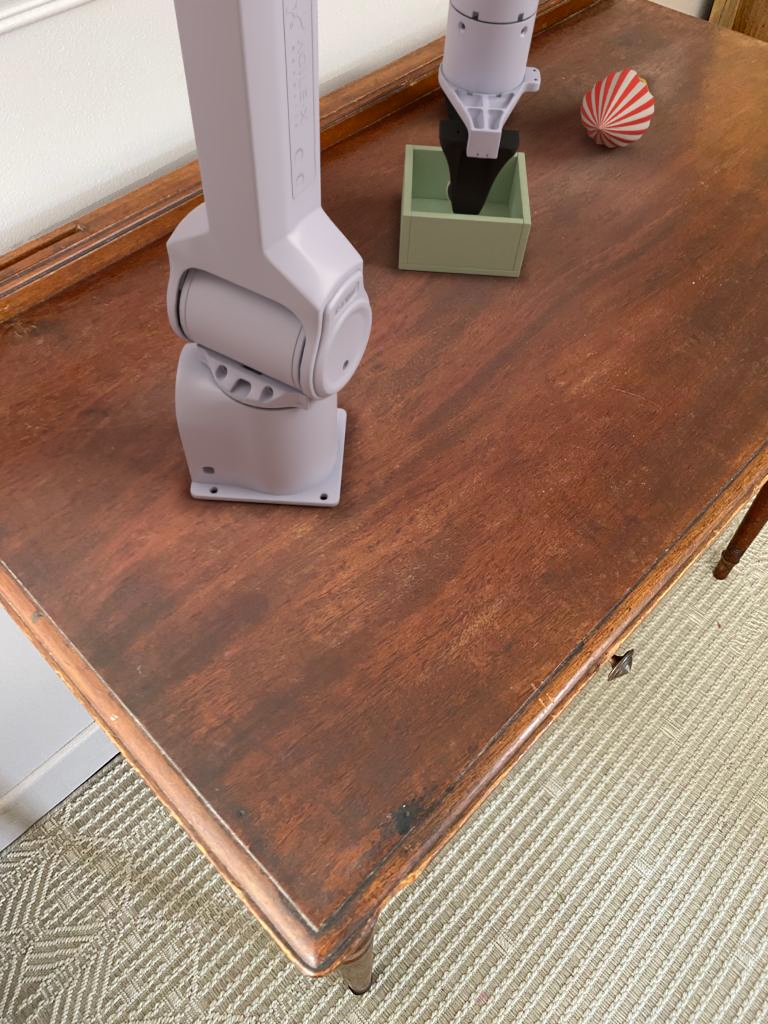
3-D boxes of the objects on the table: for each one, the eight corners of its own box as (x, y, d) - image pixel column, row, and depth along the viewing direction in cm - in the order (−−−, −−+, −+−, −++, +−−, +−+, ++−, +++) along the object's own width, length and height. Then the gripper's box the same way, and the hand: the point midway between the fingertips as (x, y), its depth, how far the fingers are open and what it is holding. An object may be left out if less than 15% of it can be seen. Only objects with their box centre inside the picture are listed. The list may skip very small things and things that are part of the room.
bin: (398, 269, 64) (403, 215, 60) (401, 198, 69) (405, 144, 65) (518, 277, 64) (531, 223, 60) (512, 206, 69) (524, 152, 65)
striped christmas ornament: (639, 127, 85) (593, 183, 71) (603, 77, 84) (549, 125, 70) (690, 84, 81) (652, 135, 67) (653, 31, 79) (606, 71, 65)
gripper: (564, 66, 48) (520, 252, 59) (546, -44, 56) (511, 139, 67) (446, 57, 48) (425, 245, 59) (446, -51, 56) (427, 133, 67)
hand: (465, 188), depth 63 cm, fingers closed on wristwatch, 5 cm apart
